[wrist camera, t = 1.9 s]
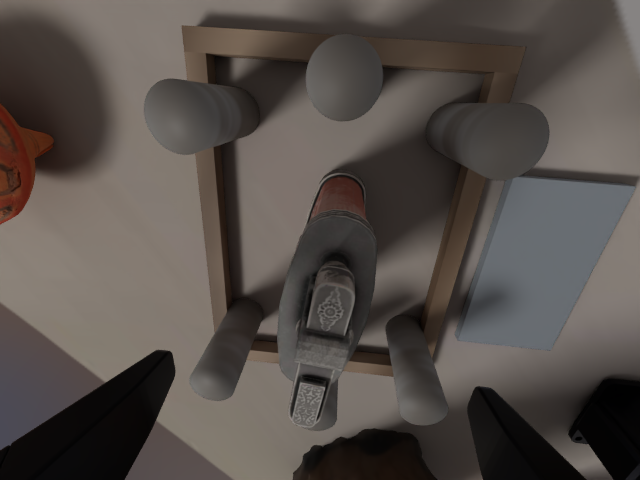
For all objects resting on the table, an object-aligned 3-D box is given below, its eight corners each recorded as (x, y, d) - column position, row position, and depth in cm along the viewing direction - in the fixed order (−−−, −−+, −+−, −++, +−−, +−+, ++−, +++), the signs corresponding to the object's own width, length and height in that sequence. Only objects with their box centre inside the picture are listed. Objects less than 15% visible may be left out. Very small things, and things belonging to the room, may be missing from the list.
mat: (625, 183, 16) (636, 186, 15) (544, 343, 20) (550, 350, 20) (507, 174, 16) (513, 176, 15) (454, 334, 20) (457, 340, 20)
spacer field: (514, 50, 14) (626, 15, 8) (421, 368, 22) (446, 456, 17) (192, 30, 14) (96, -15, 9) (222, 346, 23) (183, 423, 17)
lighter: (316, 164, 16) (279, 239, 7) (376, 176, 16) (413, 267, 7) (294, 284, 20) (251, 436, 11) (344, 294, 20) (342, 455, 11)
